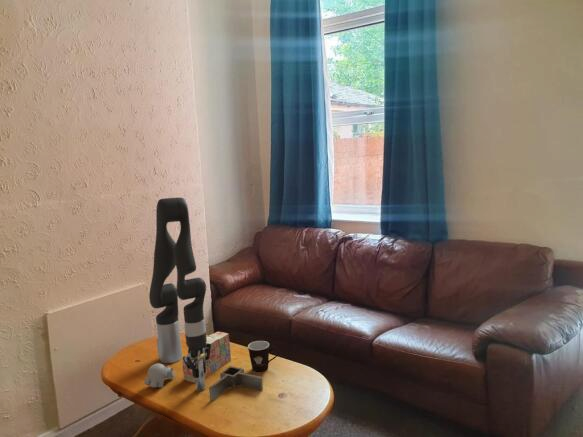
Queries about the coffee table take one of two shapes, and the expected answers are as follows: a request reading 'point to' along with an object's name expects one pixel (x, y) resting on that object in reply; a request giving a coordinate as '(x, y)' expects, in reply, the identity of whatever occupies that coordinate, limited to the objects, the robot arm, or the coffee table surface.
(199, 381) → the hinge pin
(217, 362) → the stack of blocks
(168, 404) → the coffee table surface
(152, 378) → the chubby cartoon animal
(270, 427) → the coffee table surface
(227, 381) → the hinge leaves
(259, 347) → the coffee mug
